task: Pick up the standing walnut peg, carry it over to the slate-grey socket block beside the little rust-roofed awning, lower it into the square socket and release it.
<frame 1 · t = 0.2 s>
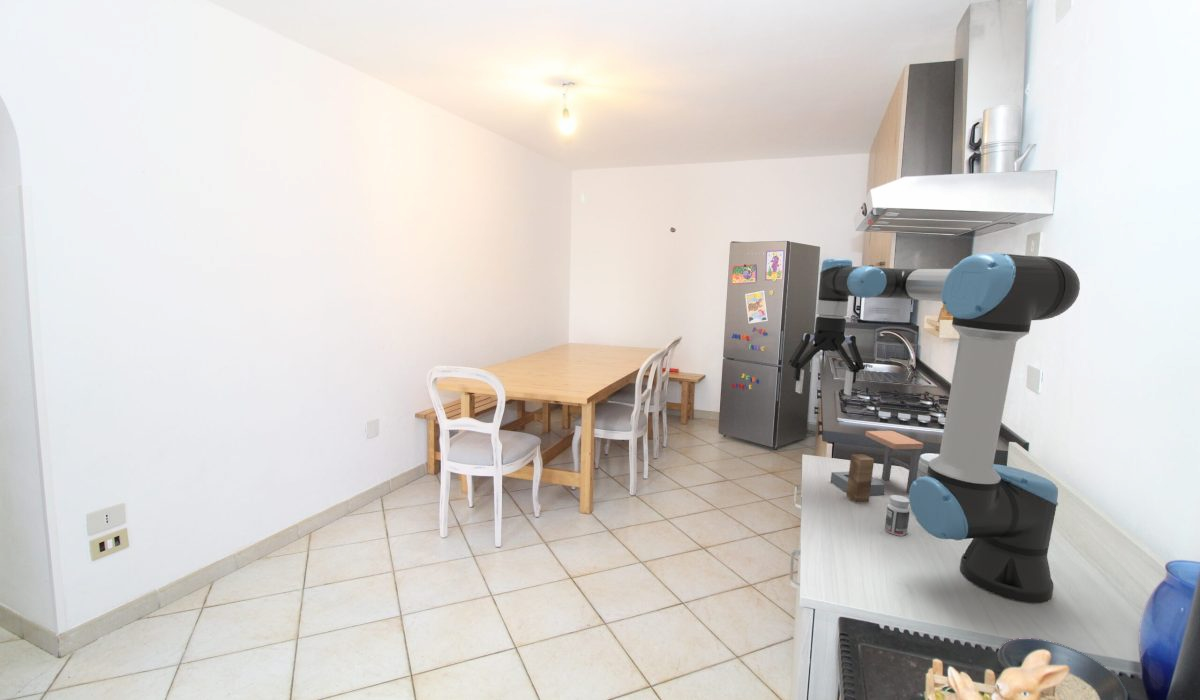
hand: (822, 393, 151), 27 cm above the kitchen counter, fingers open, 13 cm apart
peg: (857, 499, 149), on the kitchen counter
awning: (887, 486, 158), on the kitchen counter
pill bottle: (895, 532, 131), on the kitchen counter
supplement tub: (933, 513, 142), on the kitchen counter
socket block: (856, 488, 156), on the kitchen counter
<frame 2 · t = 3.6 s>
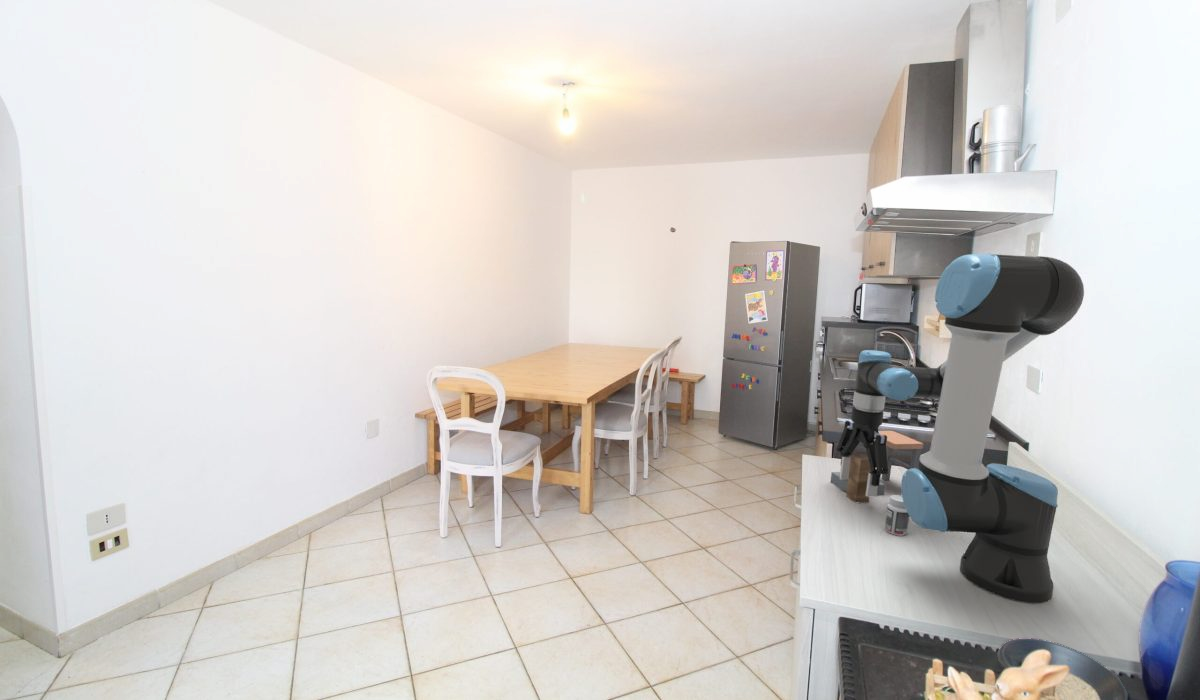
hand: (857, 487, 149), 3 cm above the kitchen counter, fingers open, 10 cm apart
nothing on the kitchen counter moved.
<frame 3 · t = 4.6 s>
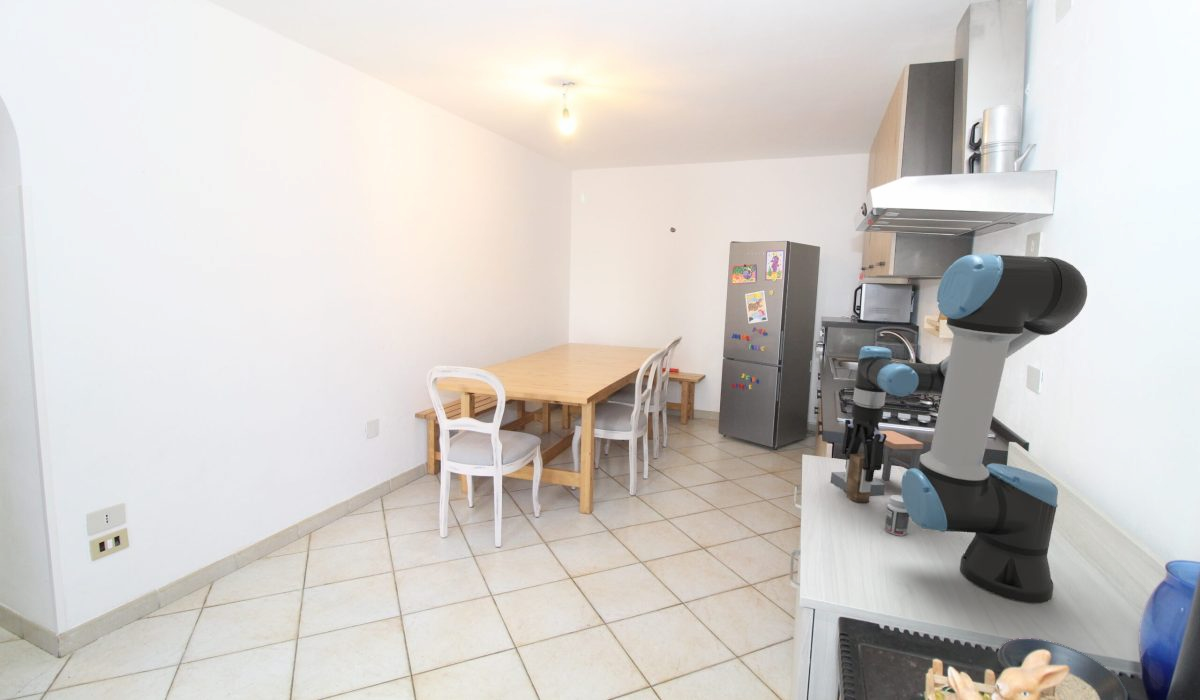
hand: (856, 486, 149), 3 cm above the kitchen counter, fingers open, 6 cm apart
peg: (857, 499, 148), on the kitchen counter, touching gripper, socket block
everything else where it was.
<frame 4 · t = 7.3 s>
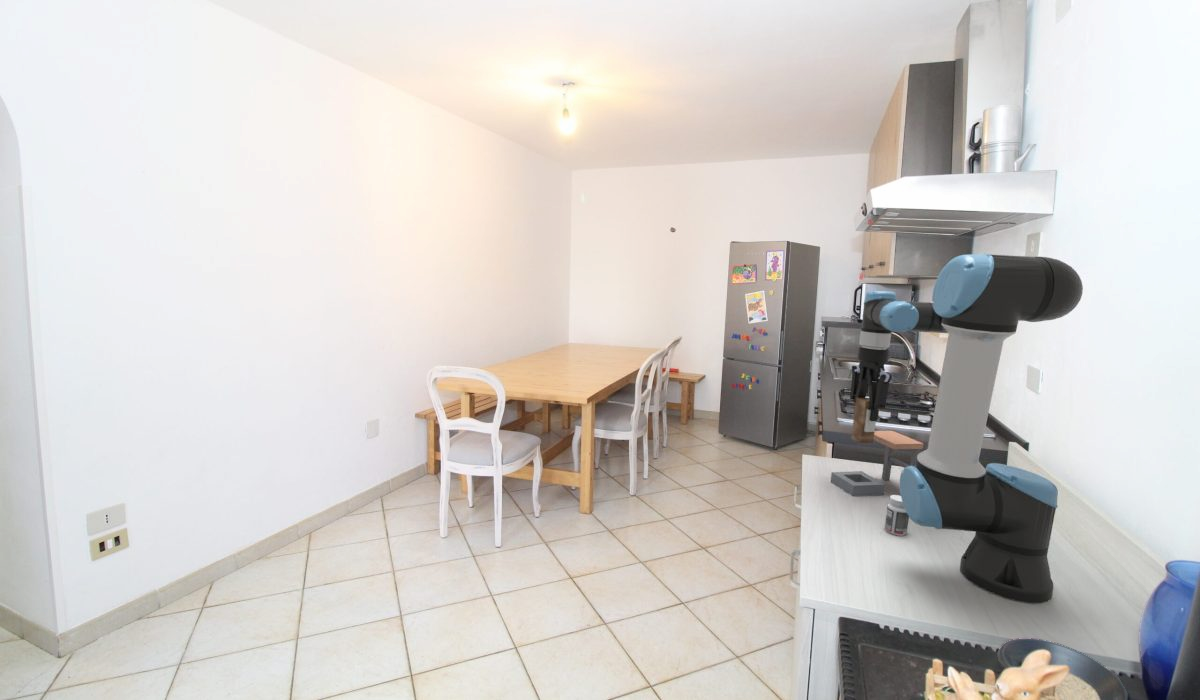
hand: (863, 428, 154), 17 cm above the kitchen counter, fingers closed on peg, 4 cm apart
peg: (862, 440, 155), point 14 cm above the kitchen counter, touching gripper
everything else where it was.
when the fingers open (4 cm above the kitchen counter, at t = 9.5 s): peg stays where it is, resting in socket block.
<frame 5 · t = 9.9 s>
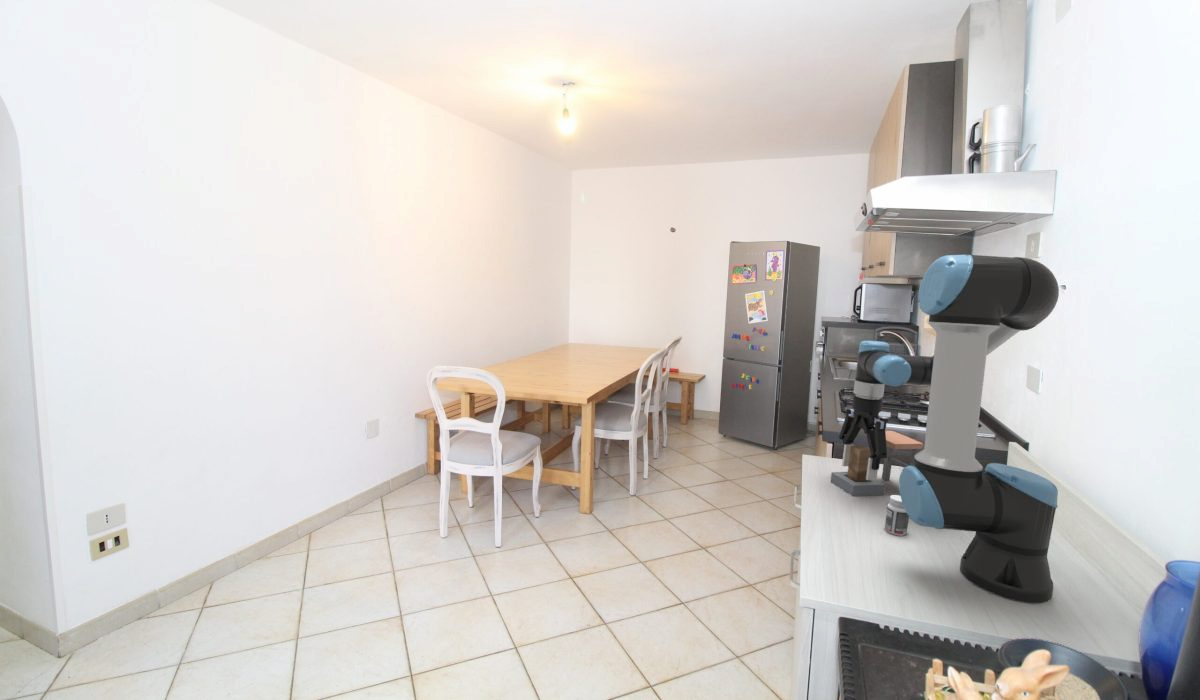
hand: (858, 472, 156), 5 cm above the kitchen counter, fingers open, 10 cm apart
peg: (856, 488, 156), resting in socket block
everything else where it was.
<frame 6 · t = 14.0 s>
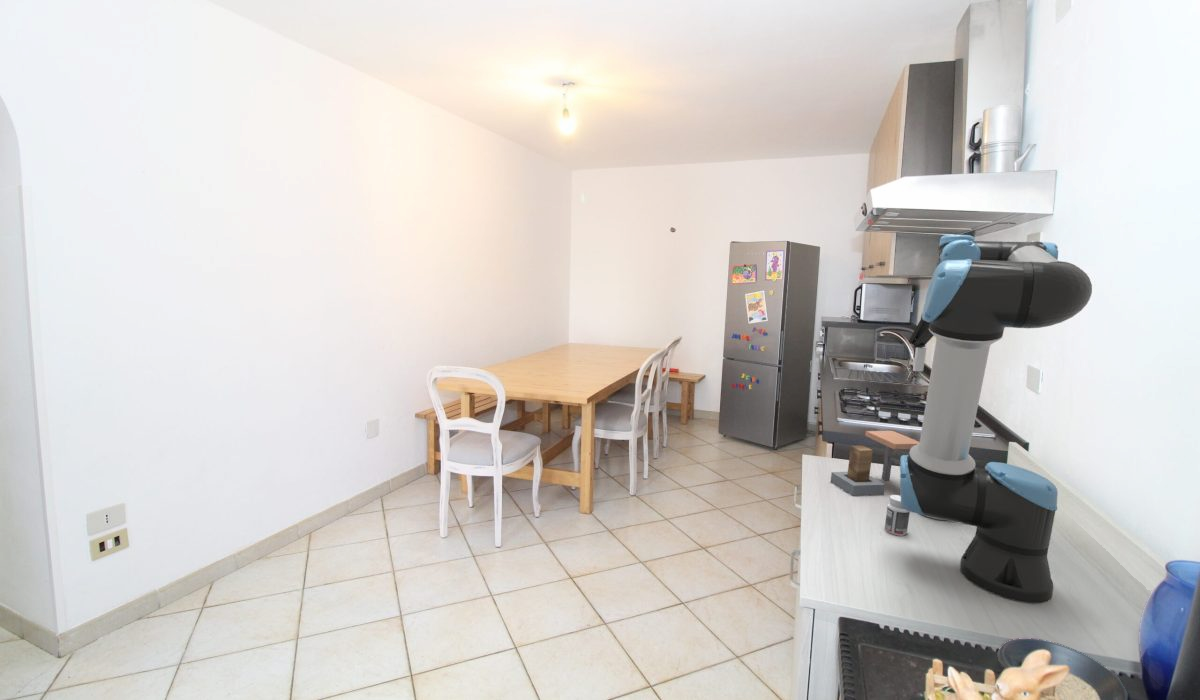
hand: (937, 376, 145), 35 cm above the kitchen counter, fingers open, 13 cm apart
nothing on the kitchen counter moved.
at the end: peg 0.0 cm off-centre on the socket block, point 0.0 cm above the socket block's base; peg tilted 0°; the gripper is holding nothing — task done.
